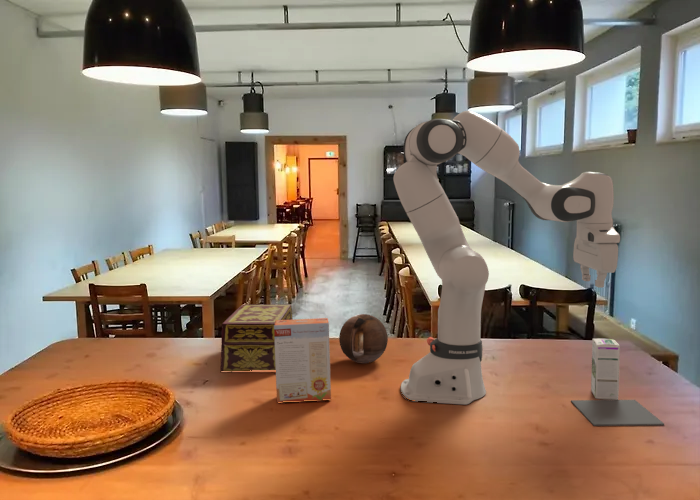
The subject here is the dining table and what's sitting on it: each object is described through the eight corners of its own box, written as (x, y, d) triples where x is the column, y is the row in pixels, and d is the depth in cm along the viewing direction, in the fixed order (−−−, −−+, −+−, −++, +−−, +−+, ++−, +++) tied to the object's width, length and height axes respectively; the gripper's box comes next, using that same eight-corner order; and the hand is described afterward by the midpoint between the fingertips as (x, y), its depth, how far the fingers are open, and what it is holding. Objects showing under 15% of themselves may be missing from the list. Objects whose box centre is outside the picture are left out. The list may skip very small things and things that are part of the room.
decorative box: (242, 345, 198) (240, 303, 196) (295, 346, 197) (294, 303, 195) (220, 373, 171) (217, 324, 169) (282, 373, 170) (280, 324, 168)
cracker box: (330, 393, 153) (328, 316, 151) (331, 402, 147) (329, 322, 145) (277, 395, 152) (274, 318, 150) (276, 404, 146) (273, 324, 144)
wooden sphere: (357, 351, 189) (357, 307, 187) (396, 359, 180) (396, 313, 178) (329, 364, 177) (328, 316, 175) (370, 373, 168) (369, 323, 166)
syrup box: (619, 400, 145) (621, 345, 144) (594, 399, 147) (596, 344, 145) (613, 392, 151) (615, 338, 149) (589, 390, 152) (591, 337, 150)
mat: (593, 425, 131) (593, 424, 131) (571, 401, 145) (571, 400, 145) (664, 425, 131) (664, 423, 131) (634, 401, 145) (634, 399, 145)
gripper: (568, 229, 164) (566, 277, 165) (598, 237, 143) (596, 291, 145) (590, 229, 163) (588, 276, 165) (623, 236, 143) (621, 291, 145)
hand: (592, 283), depth 155 cm, fingers open, 7 cm apart
